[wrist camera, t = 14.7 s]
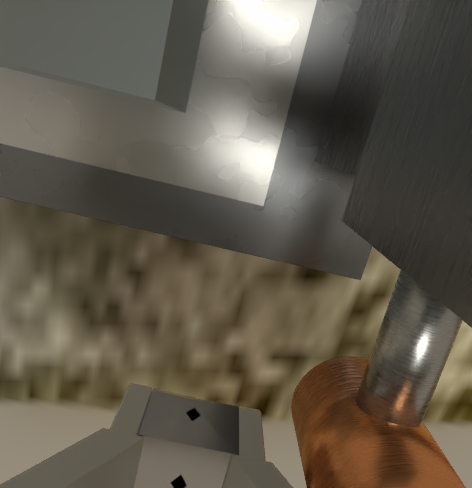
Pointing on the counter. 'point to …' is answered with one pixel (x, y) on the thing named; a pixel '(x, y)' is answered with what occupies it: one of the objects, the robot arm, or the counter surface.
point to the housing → (107, 45)
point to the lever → (380, 403)
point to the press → (278, 141)
